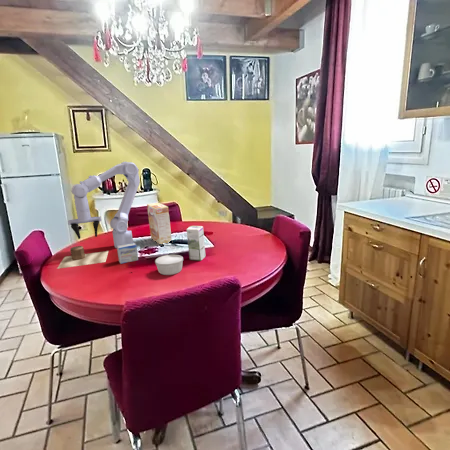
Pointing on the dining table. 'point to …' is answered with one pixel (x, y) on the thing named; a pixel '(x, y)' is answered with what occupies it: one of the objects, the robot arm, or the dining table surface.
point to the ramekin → (169, 264)
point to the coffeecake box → (159, 223)
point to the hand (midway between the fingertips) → (87, 237)
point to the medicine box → (127, 253)
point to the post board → (84, 260)
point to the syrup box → (196, 242)
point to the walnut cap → (77, 253)
